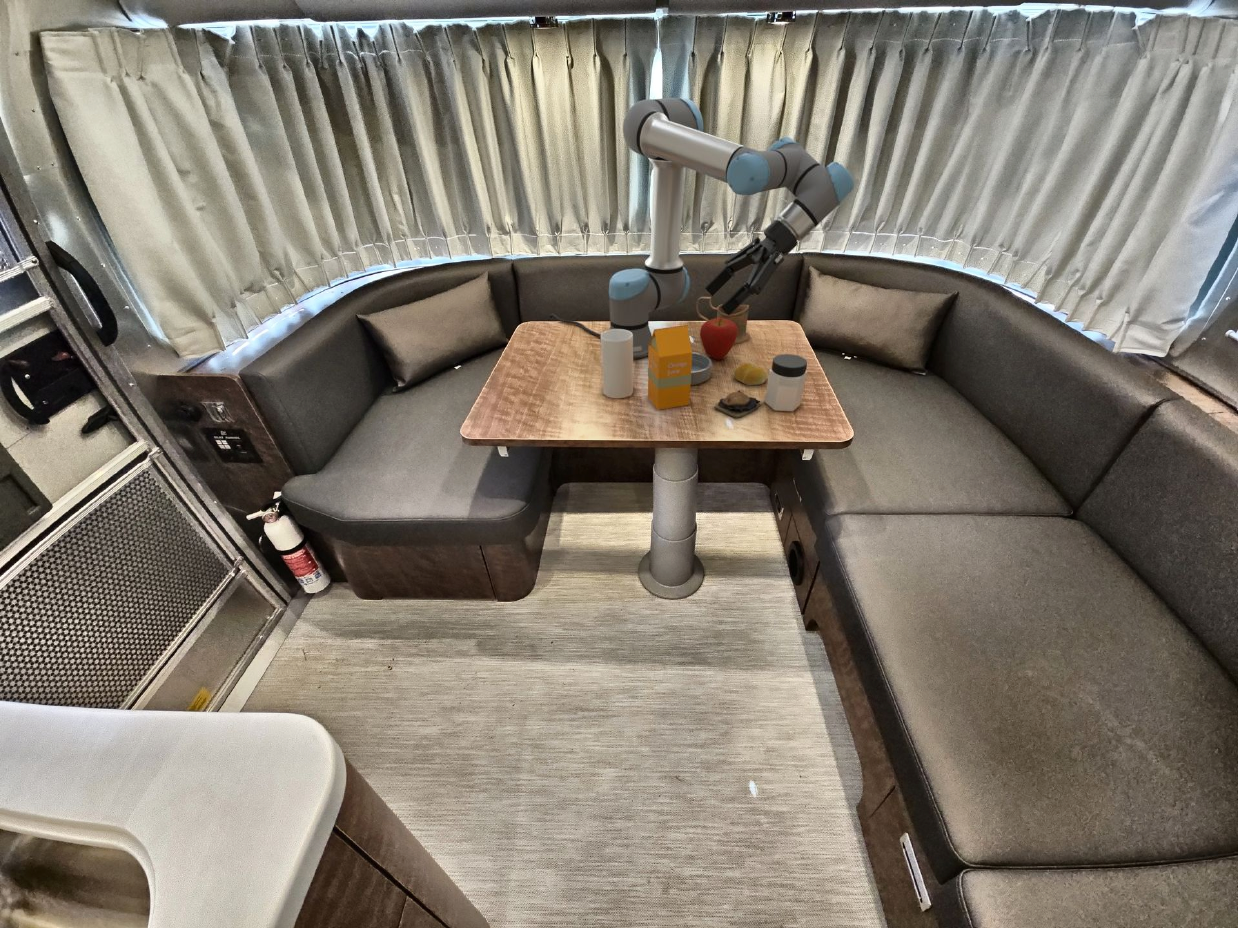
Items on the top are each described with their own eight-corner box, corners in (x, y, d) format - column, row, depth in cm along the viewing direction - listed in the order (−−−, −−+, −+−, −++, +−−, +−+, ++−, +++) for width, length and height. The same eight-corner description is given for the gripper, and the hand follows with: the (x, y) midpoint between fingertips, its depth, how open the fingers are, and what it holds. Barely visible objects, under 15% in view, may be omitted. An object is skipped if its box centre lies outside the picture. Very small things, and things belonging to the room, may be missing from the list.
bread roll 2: (737, 420, 131) (739, 407, 128) (711, 407, 136) (712, 395, 134) (764, 405, 136) (766, 393, 134) (738, 394, 141) (739, 381, 139)
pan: (651, 373, 153) (651, 360, 151) (687, 360, 159) (688, 347, 157) (683, 391, 144) (684, 377, 141) (721, 376, 150) (722, 363, 148)
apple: (701, 348, 166) (704, 310, 159) (736, 351, 164) (740, 313, 157) (695, 363, 158) (698, 324, 150) (732, 367, 155) (736, 327, 148)
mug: (699, 326, 182) (702, 291, 175) (751, 332, 176) (756, 296, 169) (689, 338, 173) (691, 302, 166) (743, 346, 167) (748, 308, 160)
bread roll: (754, 389, 143) (756, 375, 141) (728, 378, 149) (729, 365, 147) (772, 379, 148) (775, 366, 145) (747, 369, 153) (748, 356, 151)
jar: (806, 408, 134) (815, 365, 127) (778, 415, 132) (786, 370, 125) (785, 393, 141) (793, 351, 134) (759, 399, 139) (765, 356, 132)
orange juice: (689, 404, 137) (694, 330, 126) (657, 410, 135) (659, 335, 124) (678, 391, 144) (681, 319, 132) (647, 396, 142) (648, 323, 130)
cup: (611, 401, 140) (609, 343, 131) (598, 388, 146) (595, 332, 137) (638, 393, 143) (638, 337, 134) (624, 381, 149) (623, 326, 140)
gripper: (821, 257, 110) (742, 331, 117) (776, 230, 130) (711, 294, 137) (801, 231, 106) (721, 309, 114) (758, 207, 127) (693, 275, 134)
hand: (716, 301), depth 126 cm, fingers open, 13 cm apart
